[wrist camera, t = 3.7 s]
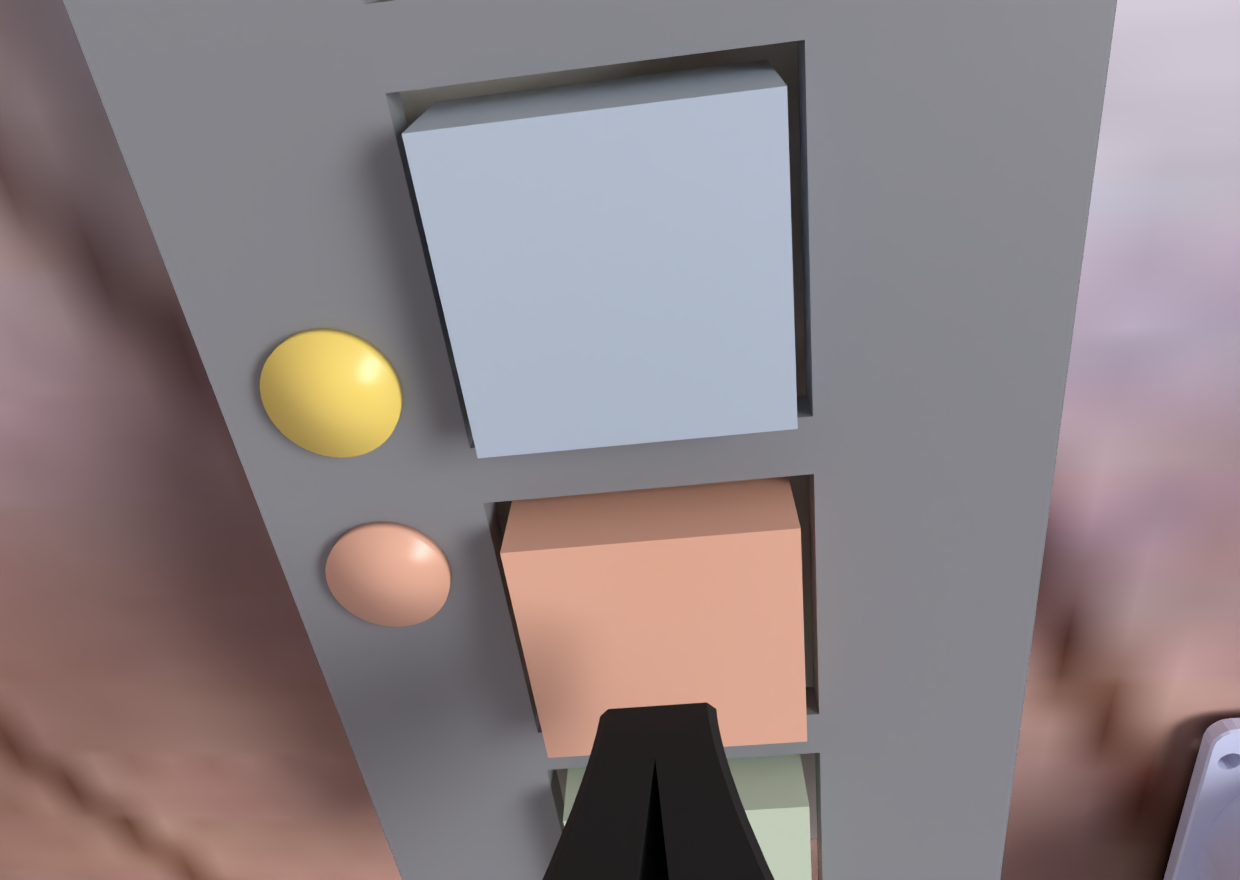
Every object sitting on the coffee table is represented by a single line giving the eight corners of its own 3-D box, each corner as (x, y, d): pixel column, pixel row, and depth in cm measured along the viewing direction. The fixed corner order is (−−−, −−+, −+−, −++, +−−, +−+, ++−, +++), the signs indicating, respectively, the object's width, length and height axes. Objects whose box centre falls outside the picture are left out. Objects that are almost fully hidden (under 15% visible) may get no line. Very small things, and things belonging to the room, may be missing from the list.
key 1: (799, 862, 18) (813, 952, 17) (600, 873, 19) (596, 961, 17) (793, 720, 16) (809, 806, 15) (570, 735, 17) (563, 821, 15)
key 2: (791, 657, 16) (807, 741, 14) (558, 674, 16) (548, 758, 14) (782, 456, 14) (800, 528, 12) (516, 480, 14) (500, 553, 12)
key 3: (779, 365, 13) (798, 429, 11) (497, 393, 13) (478, 459, 12) (767, 59, 11) (787, 86, 9) (436, 101, 11) (401, 133, 10)
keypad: (928, 758, 22) (993, 958, 18) (475, 786, 23) (436, 982, 19) (1023, -706, 10) (1278, -1119, 6) (83, -525, 11) (-253, -777, 7)
